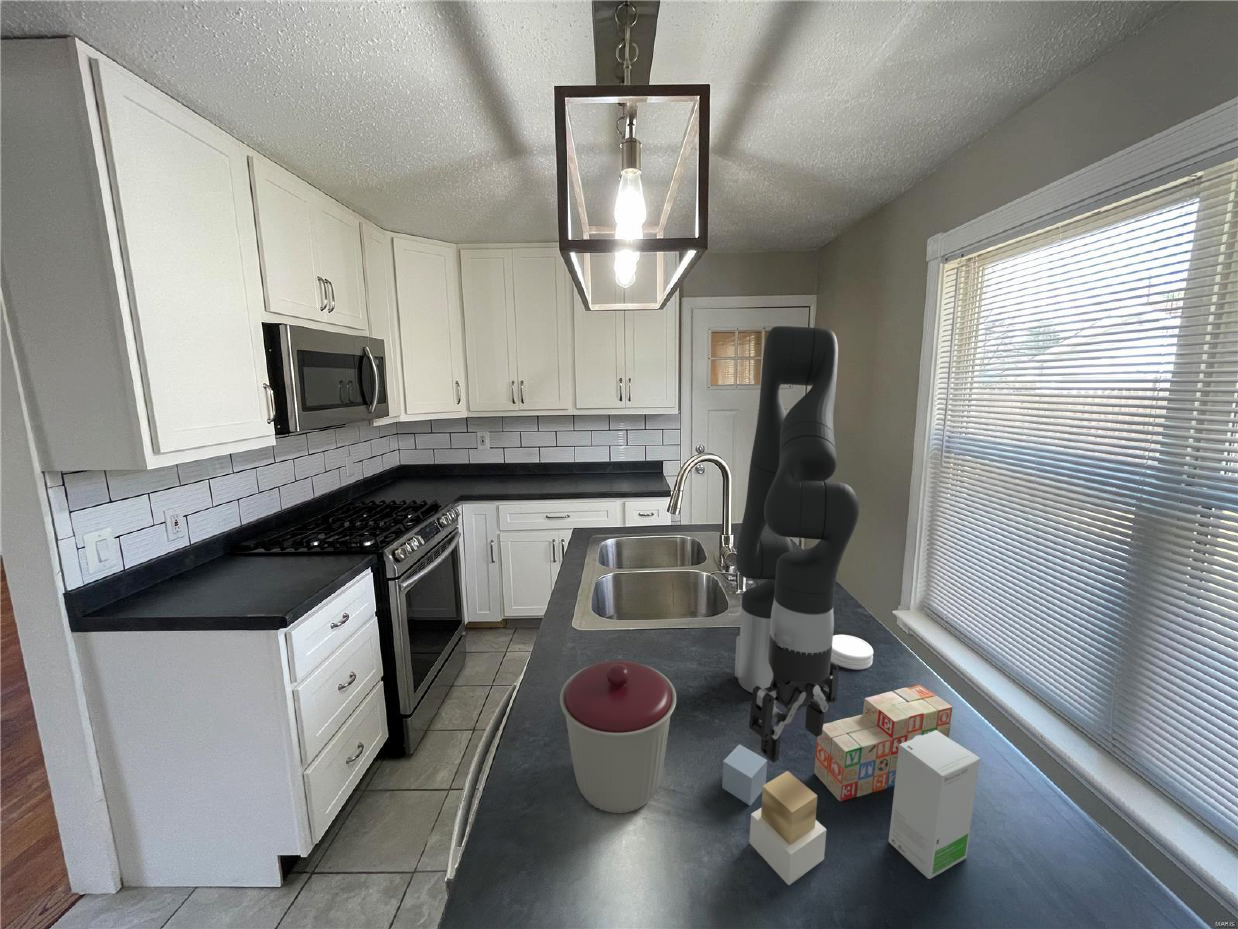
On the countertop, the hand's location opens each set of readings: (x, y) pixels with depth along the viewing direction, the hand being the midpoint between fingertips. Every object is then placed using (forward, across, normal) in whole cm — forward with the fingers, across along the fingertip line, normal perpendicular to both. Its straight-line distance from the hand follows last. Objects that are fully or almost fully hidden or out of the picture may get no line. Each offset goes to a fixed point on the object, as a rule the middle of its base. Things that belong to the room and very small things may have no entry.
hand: (792, 744), depth 67 cm
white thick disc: (+18, -51, -25) cm, 59 cm away
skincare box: (+17, -17, +10) cm, 26 cm away
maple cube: (+12, 0, 0) cm, 12 cm away
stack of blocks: (+17, -24, -1) cm, 30 cm away
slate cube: (+17, -3, -11) cm, 20 cm away
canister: (+17, +14, -22) cm, 31 cm away
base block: (+17, 0, 0) cm, 17 cm away
